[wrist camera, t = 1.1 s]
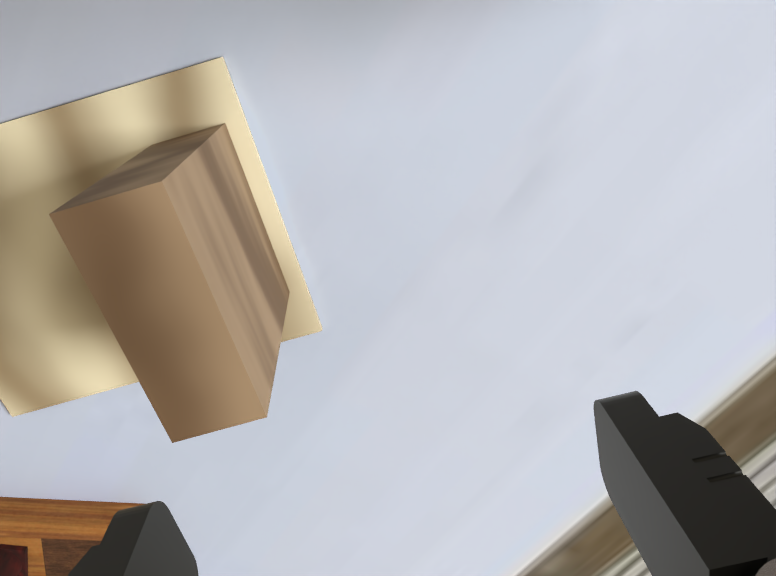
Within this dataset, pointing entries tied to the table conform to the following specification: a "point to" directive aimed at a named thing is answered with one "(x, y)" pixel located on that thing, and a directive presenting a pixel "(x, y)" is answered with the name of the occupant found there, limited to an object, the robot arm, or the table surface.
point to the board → (49, 253)
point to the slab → (184, 279)
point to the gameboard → (50, 533)
